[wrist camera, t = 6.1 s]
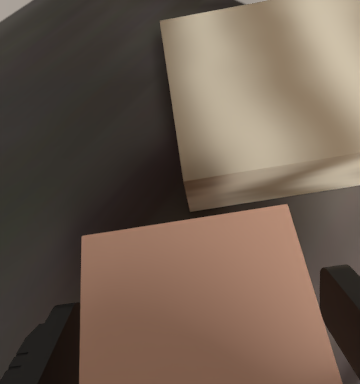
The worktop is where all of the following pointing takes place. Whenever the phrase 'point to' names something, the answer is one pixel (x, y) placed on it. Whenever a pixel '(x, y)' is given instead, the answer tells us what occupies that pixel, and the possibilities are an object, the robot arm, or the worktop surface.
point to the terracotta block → (202, 304)
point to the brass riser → (265, 99)
